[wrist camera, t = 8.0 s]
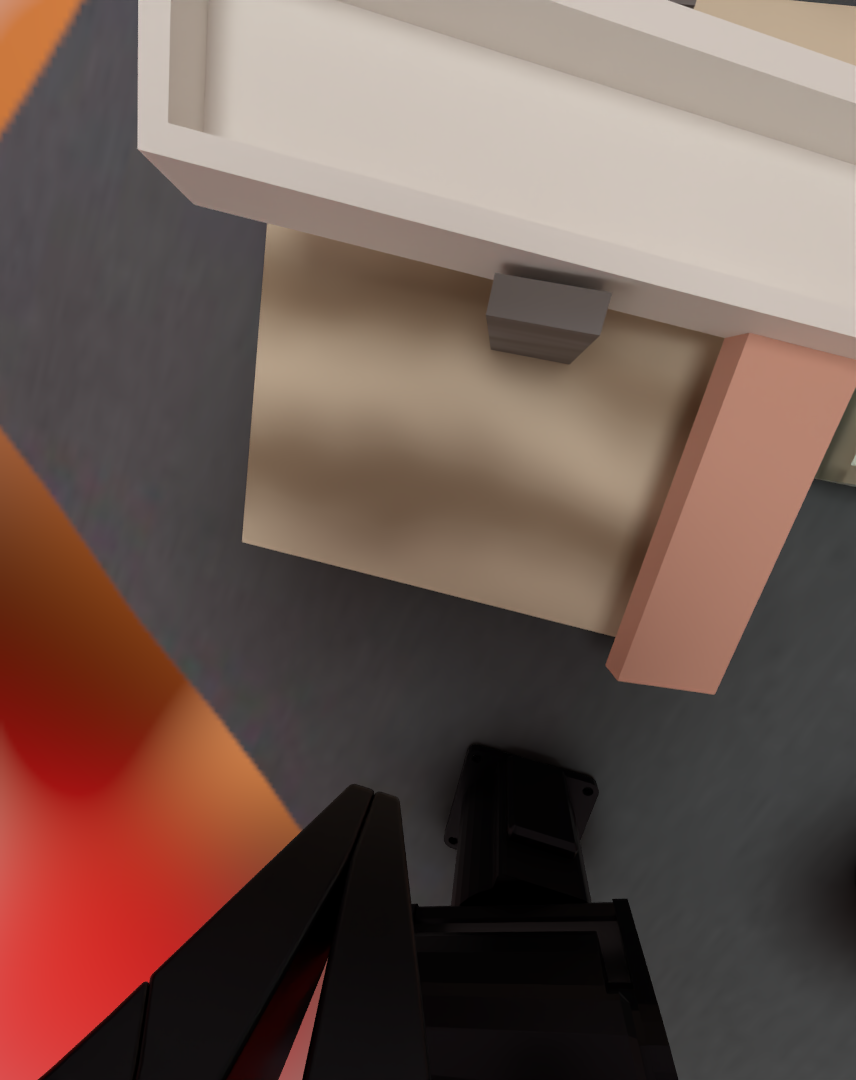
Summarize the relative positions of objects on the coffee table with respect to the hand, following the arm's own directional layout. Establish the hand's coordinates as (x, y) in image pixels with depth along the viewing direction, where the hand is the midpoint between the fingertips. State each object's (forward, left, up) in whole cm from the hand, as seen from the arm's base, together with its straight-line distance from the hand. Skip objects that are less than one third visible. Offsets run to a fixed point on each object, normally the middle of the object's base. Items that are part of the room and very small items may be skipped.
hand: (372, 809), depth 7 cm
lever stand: (+10, -1, -13) cm, 16 cm away
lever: (+7, -1, -9) cm, 11 cm away
